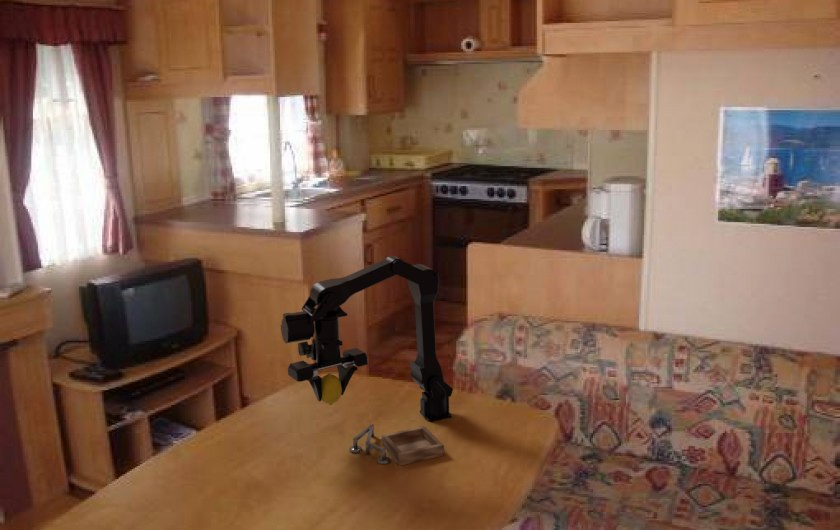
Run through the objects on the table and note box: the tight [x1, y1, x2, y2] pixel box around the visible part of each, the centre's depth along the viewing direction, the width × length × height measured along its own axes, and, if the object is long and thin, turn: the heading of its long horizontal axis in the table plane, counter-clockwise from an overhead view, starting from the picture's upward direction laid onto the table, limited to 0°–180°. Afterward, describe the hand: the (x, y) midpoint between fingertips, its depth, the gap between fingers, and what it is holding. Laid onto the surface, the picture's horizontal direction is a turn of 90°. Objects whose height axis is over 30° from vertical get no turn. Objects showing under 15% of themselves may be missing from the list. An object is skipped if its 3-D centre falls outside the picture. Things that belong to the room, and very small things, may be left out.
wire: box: [348, 423, 392, 465], centre depth 183 cm, size 8×15×3 cm, turn 24°
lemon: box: [321, 373, 342, 406], centre depth 187 cm, size 6×6×8 cm
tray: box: [381, 425, 445, 466], centre depth 183 cm, size 11×11×3 cm
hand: (330, 397), depth 188 cm, fingers closed on lemon, 5 cm apart
